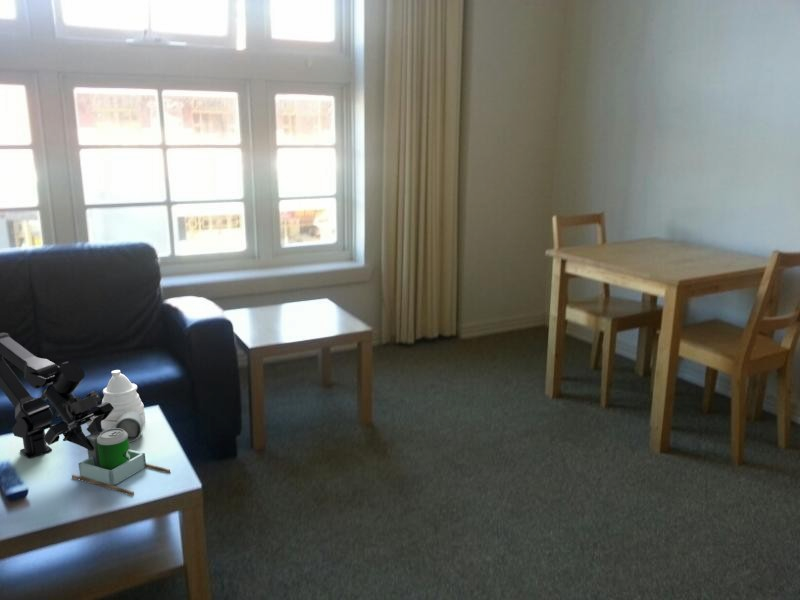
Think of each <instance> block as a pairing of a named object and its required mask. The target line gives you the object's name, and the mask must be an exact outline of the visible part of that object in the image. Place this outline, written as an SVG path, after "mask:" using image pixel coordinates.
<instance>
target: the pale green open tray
mask: <svg viewBox="0 0 800 600" xmlns="http://www.w3.org/2000/svg"><path fill="white" fill-rule="evenodd" d="M100 434H101V432H97V431H96V432H94V433H92V434H88V435H85V436H86V437H87V439H88V440H89V441H90V443H91V444H92V446H93V447H94V449H93V451H90V450H88V449H87V455H88V456H87V457H88V458H87V459H84V460H82V461H80V462H79V463H78V471H79V476H81V477H84V478H88V479H91V480H95V481H98V482H102V483H105V484H109V485H112V486H116V485H117V484H119V483H120V482H122V481H124V480H126V479H127V478H130V477H132V476H133V475H134V474H136V473H139V471H141V470H143V469H145V468H147V467H146V463H147V462H146V453H145V452H141V451H137V450H134V449H133V450H132V449H130V448H129V450H130V460H129V461H127V462H125V463H123V464H121V465H120V466H118V467H116V468H114V469H112V470H108V469H104V468H100V460H99V452H98V444H97V438H98V436H99V435H100Z"/></svg>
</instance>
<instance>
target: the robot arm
mask: <svg viewBox="0 0 800 600" xmlns="http://www.w3.org/2000/svg"><path fill="white" fill-rule="evenodd" d="M4 358H5V359H6V360H8V361H9V362H10V363H11V364H13V365H14V366H15V367H17V368H18V369H19V370H20V371H22V373H23V378H24V380H25V381H26V382H27V383H28V384H29V385H30V386H31V388H34V389H40V388H44V387H46V386H47V387H46V388H45V389H43V390H42V391H41V394H42V395H41V396H39V397H37V398H36V397H33V396H32V395H31V394H30V392H29V391H28V390H27V389H26V387H25V386H24V384H23V383H22V382H21V381H20V379H19V378H18V377H17V375H16V374H15V372H13V370H12V368H11V367H10V366H9V365H8V364H7V362H6V361H5V359H4ZM85 375H86V374H85V371H84V369H83V368H81V367H80V366H79V365H76V364H70V362H69V361H65V362H62V363H61V364H60V365H57V364H56V363H54V362H53V361H50V360H49V359H47V358H41V357H37V356H36V355H34V354H33V353H31V352H30V351H29V350H28V349H26V348H25V347H23V346H22V345H21V344H20V343H18V342H17V341H15V340H14V339H13V338H12V337H11V335H10V333H8V332H0V389H1V391H2V392H3V393H4V395H5V396H6V397H7V399H8V400H9V401H10V403H11V405H13V407H14V419H15V420H16V422H15V424H14V426H13V427H12V429H11V430H12V434H13V435H14V437H17V438H21V439H22V442H23V443H22V444H23V449H20V450H19V453H21V454H22V455H23V456H25V458H27V459H30V458H33V457H37V456H40V455H43V454H45V453H46V454H47V453H49V452H52V451H53V449H52V447H50V445H53V444H55V443H56V442H57V443H58V441H60V436H61V435H63V439H62V441H63V442H70V443H73V444H75V445H77V446H80V447H83V448H84V449H86V450H87V451H88V450H90V451H93V449H94V447H93V446H92V444H91V443H90V441H89V440H88V439H87V437H86V436H87V435H86V434H85V433H84V432H83V428H82V426H83V425H85V424H86V425H87V426H88V427H86V430H87V432H88V433H90V434H92V433H94V432H96V431H97V432H101V433H102V432H103V431H104V430H103V429H102V427H101V421H102V420H104V419H106V418H107V417H108V415H109V414H110V413H111V412H112V410H113V409H114V407H113V406H112V405H111V404H110V403H108V402H105V403H103V404H102V403H101V404H98V402H100V401H101V400H102V398H101V396H100V394H99V393H98V392H97V391H96V390H93V391H91V392H89V393H86V397H85V398H83V399H82V397H80V396H77V397H76V396H75V394H74V393H73V392H75V391H76V389H77V388H78V387H79V386H80V384H81V383H82V381H83V380H84V379H85ZM46 400H48V402H49V403H50V405H51V406H52V407H53V409H54V410H55V411H56V412H55V416H56V417H57V418H58V417H60V418H61V420H62V421H60V422H57V423H56V424H53V420H54V419H53V418H54V413H53V410H52V409H51V406H50V405H48V404H47V402H46ZM92 408H94V409H93V411H92ZM91 411H92V412H91ZM47 429H48V430H47ZM46 430H47V432H45V431H46ZM90 434H89V435H90Z"/></svg>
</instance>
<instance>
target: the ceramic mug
mask: <svg viewBox="0 0 800 600" xmlns="http://www.w3.org/2000/svg"><path fill="white" fill-rule="evenodd" d="M143 425H144V423H143V420H142V417H141V416H140V415H139V414H138V413H137V412H134V411H128V412H125V413H123V414H122V415H121V416H120V417H119V419H118V421H117V423H116V425H115V427H114V428H120V429H123V430H124V431H125V432H127V434H128V441H129V443H133V442H134V441H135V442H136V441H137V440H138V439H139V438H140V436H141V435H142V430H143Z"/></svg>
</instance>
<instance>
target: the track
mask: <svg viewBox="0 0 800 600" xmlns="http://www.w3.org/2000/svg"><path fill="white" fill-rule="evenodd" d="M145 468H148V469H153V470H156V471H161V472H164V473H168V474H170V473H171V469H170V468H167V467H166V468H165V467H163V466H158V465H154V464H151V463H147V462H146V467H145ZM71 478H72V479H74V478H75V479H74V480H78V479H80V480H79V481H81V480H83V481H82V482H84V481H86V482H85V483H88V482H90V483H89V484H91V483H93V484H92V485H95V484H97V485H96V486H98V485H100V486H99V487H102V486H103V487H102V488H105V487H107V488H106V489H109V488H110V489H109V490H112V489H113V491H116V492H119V491H120V492H119V493H122V492H123V493H122V494H126V493H127V495H130V496H134V495H135V492H134V491H132V490H130V489H126V488H122V487H118V486H116V485H114V486H112V485H109V484H105V483H102V482H98V481H95V480H91V479H88V478H84V477H81V476H80V475H76V474H71Z"/></svg>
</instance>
